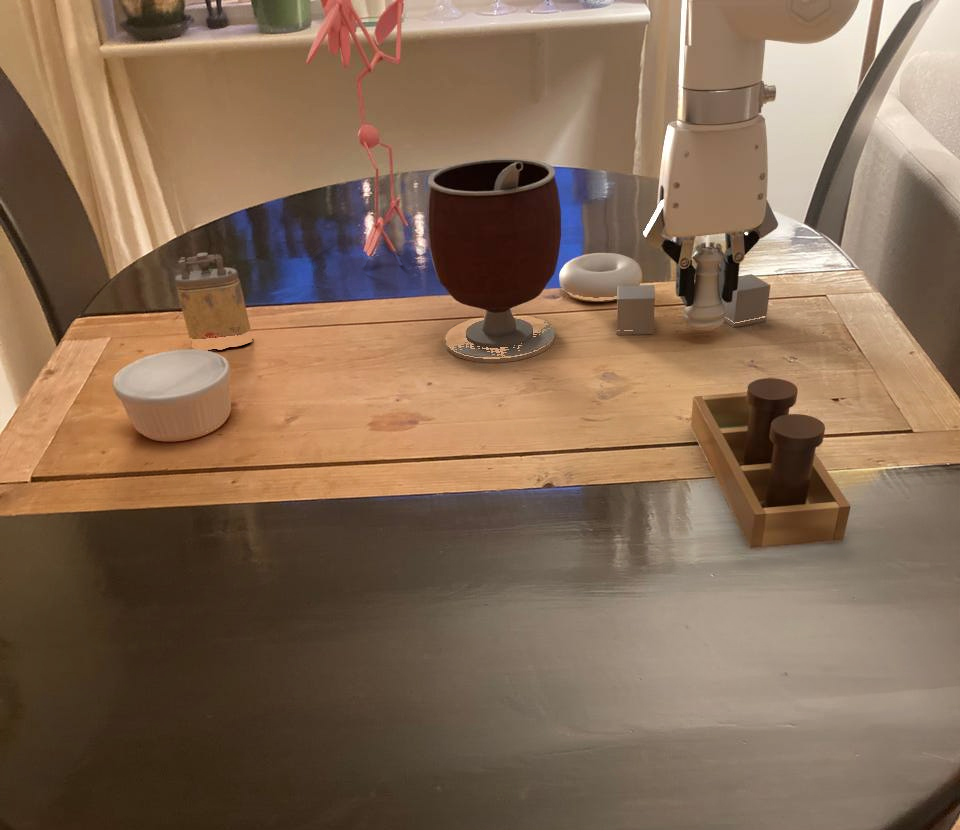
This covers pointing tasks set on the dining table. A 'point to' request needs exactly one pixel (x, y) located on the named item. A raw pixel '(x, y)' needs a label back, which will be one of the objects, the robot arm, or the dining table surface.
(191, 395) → the ramekin
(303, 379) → the dining table surface
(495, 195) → the mate gourd
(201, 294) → the lighter
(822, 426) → the walnut rook
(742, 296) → the grey block
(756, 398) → the walnut rook
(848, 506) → the rack
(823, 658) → the dining table surface
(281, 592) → the dining table surface
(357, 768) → the dining table surface
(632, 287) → the grey block
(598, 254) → the donut
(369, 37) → the figurine
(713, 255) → the rook chess piece
